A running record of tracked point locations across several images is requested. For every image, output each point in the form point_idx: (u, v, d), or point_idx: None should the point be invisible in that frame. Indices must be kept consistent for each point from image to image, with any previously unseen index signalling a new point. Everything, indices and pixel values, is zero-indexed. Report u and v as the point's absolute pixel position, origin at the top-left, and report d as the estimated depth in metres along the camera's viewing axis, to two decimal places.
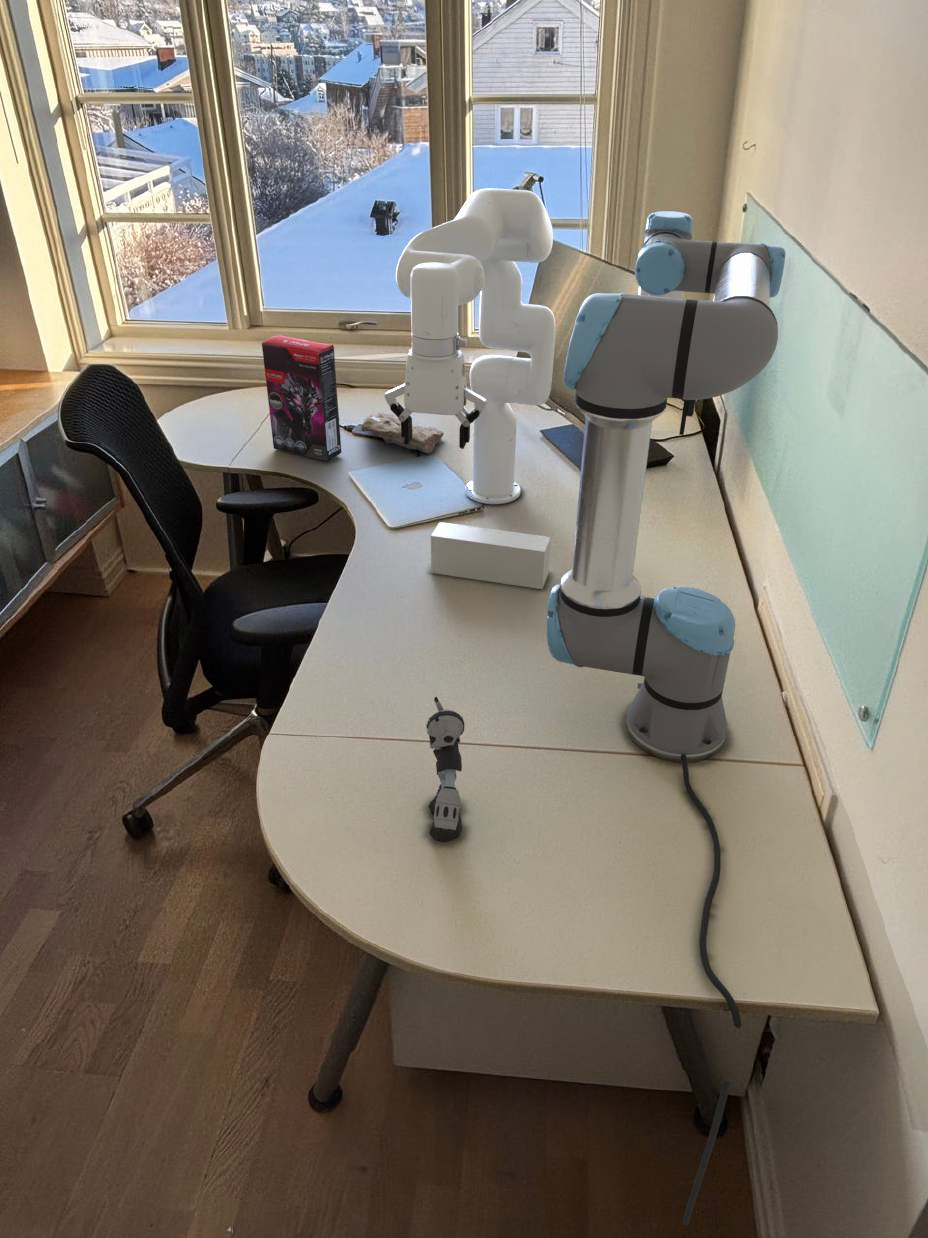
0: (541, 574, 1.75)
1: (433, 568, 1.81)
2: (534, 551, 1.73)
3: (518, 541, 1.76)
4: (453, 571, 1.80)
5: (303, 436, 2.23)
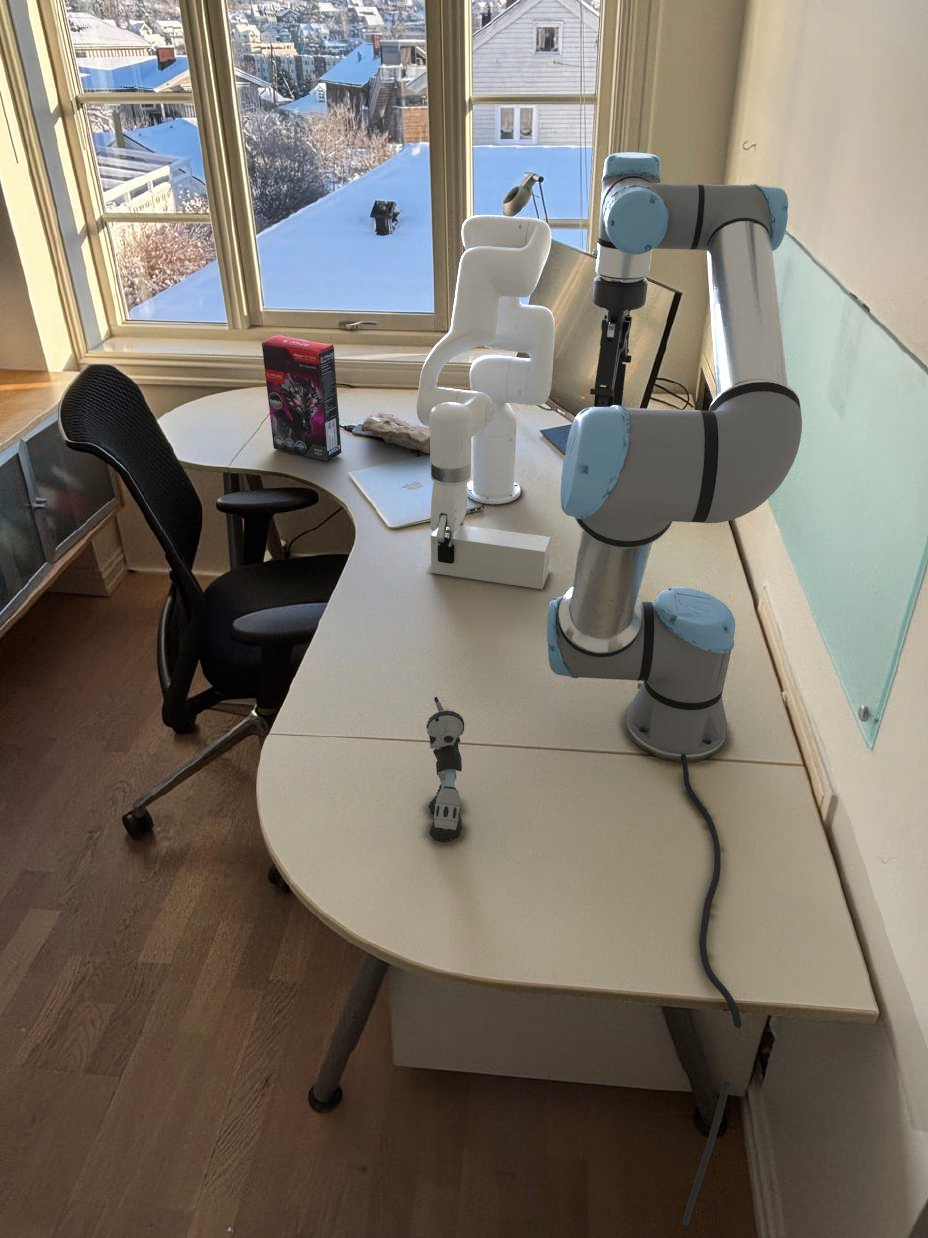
0: (541, 574, 1.75)
1: (433, 568, 1.81)
2: (533, 551, 1.73)
3: (518, 541, 1.76)
4: (453, 571, 1.80)
5: (303, 436, 2.23)
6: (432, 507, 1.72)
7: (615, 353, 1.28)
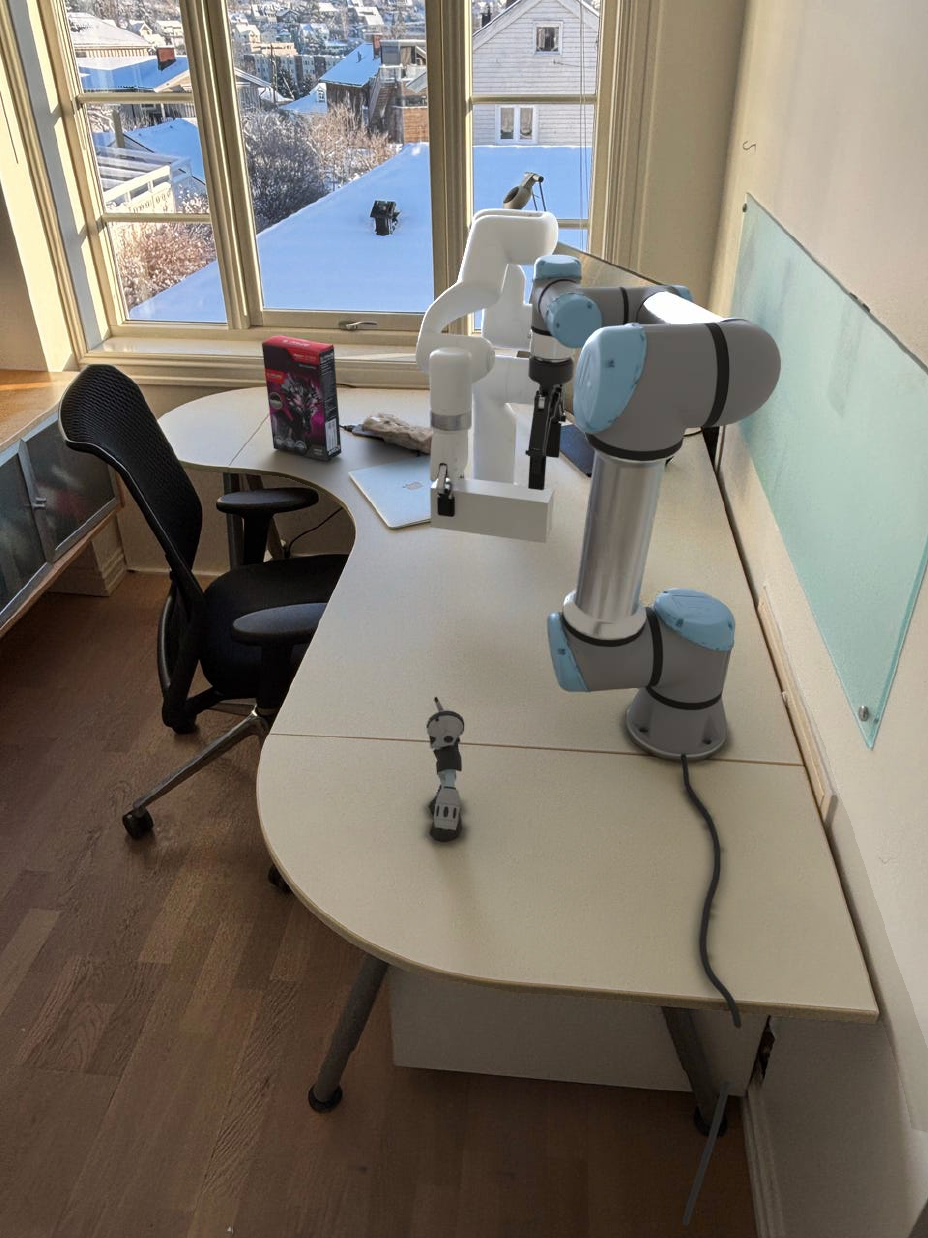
0: (544, 527, 1.70)
1: (433, 522, 1.76)
2: (536, 502, 1.68)
3: (520, 492, 1.70)
4: (453, 525, 1.75)
5: (303, 436, 2.23)
6: (432, 457, 1.66)
7: (545, 422, 1.51)
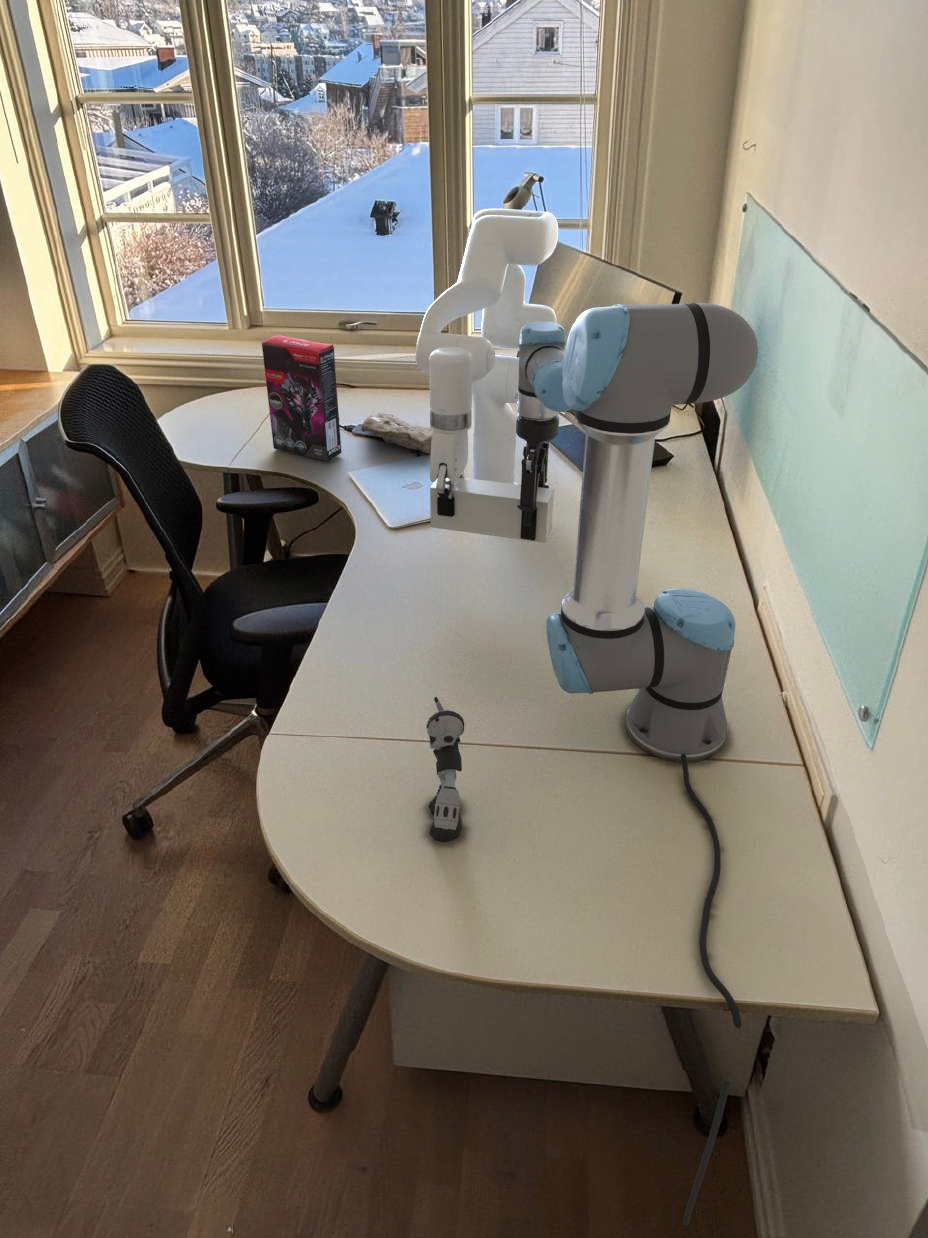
0: (544, 527, 1.70)
1: (433, 522, 1.76)
2: (536, 502, 1.67)
3: (520, 492, 1.70)
4: (453, 525, 1.75)
5: (303, 436, 2.23)
6: (431, 456, 1.66)
7: (533, 482, 1.62)
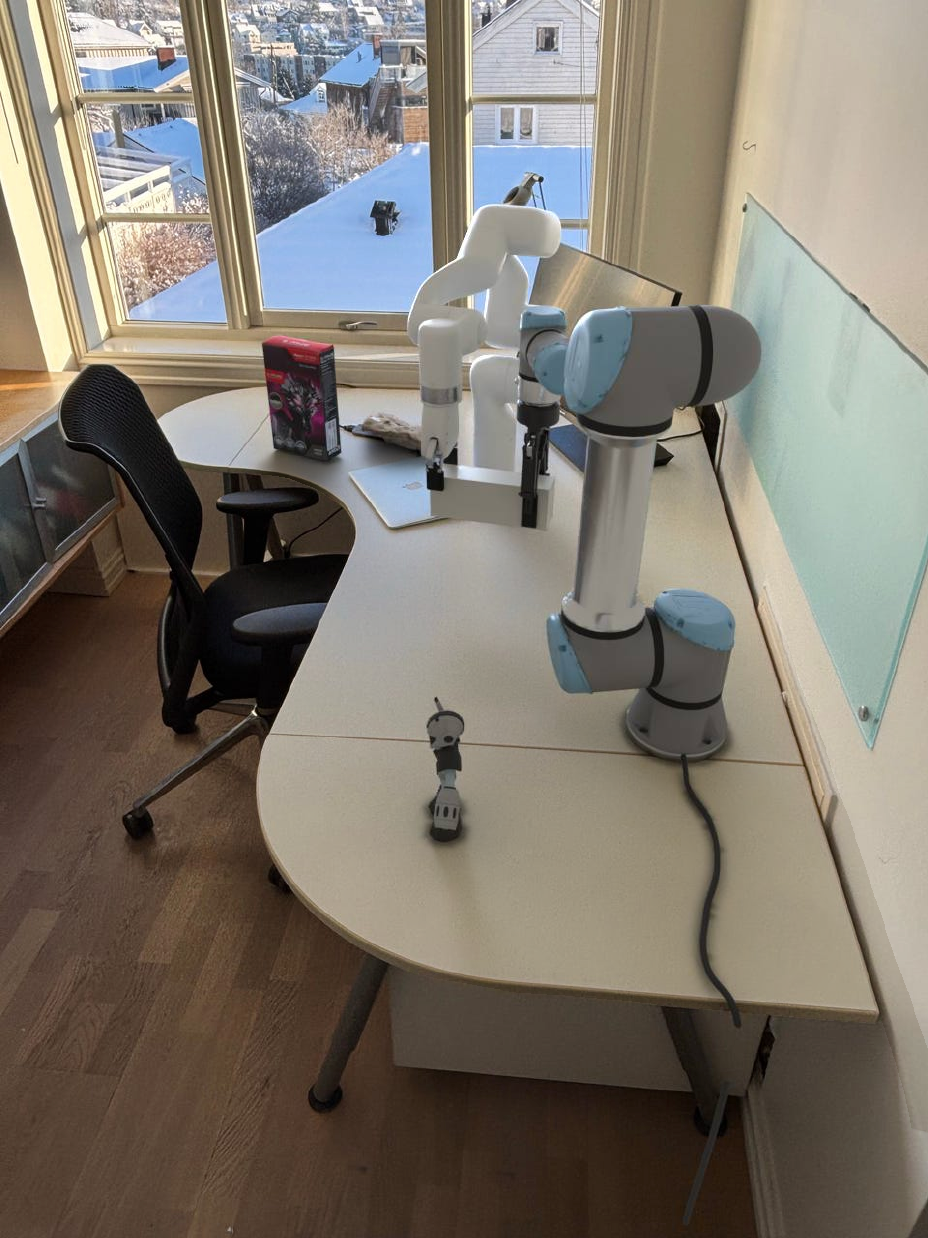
0: (545, 515, 1.68)
1: (433, 511, 1.74)
2: (537, 489, 1.66)
3: None
4: (453, 513, 1.73)
5: (303, 436, 2.23)
6: (422, 431, 1.64)
7: (534, 468, 1.60)
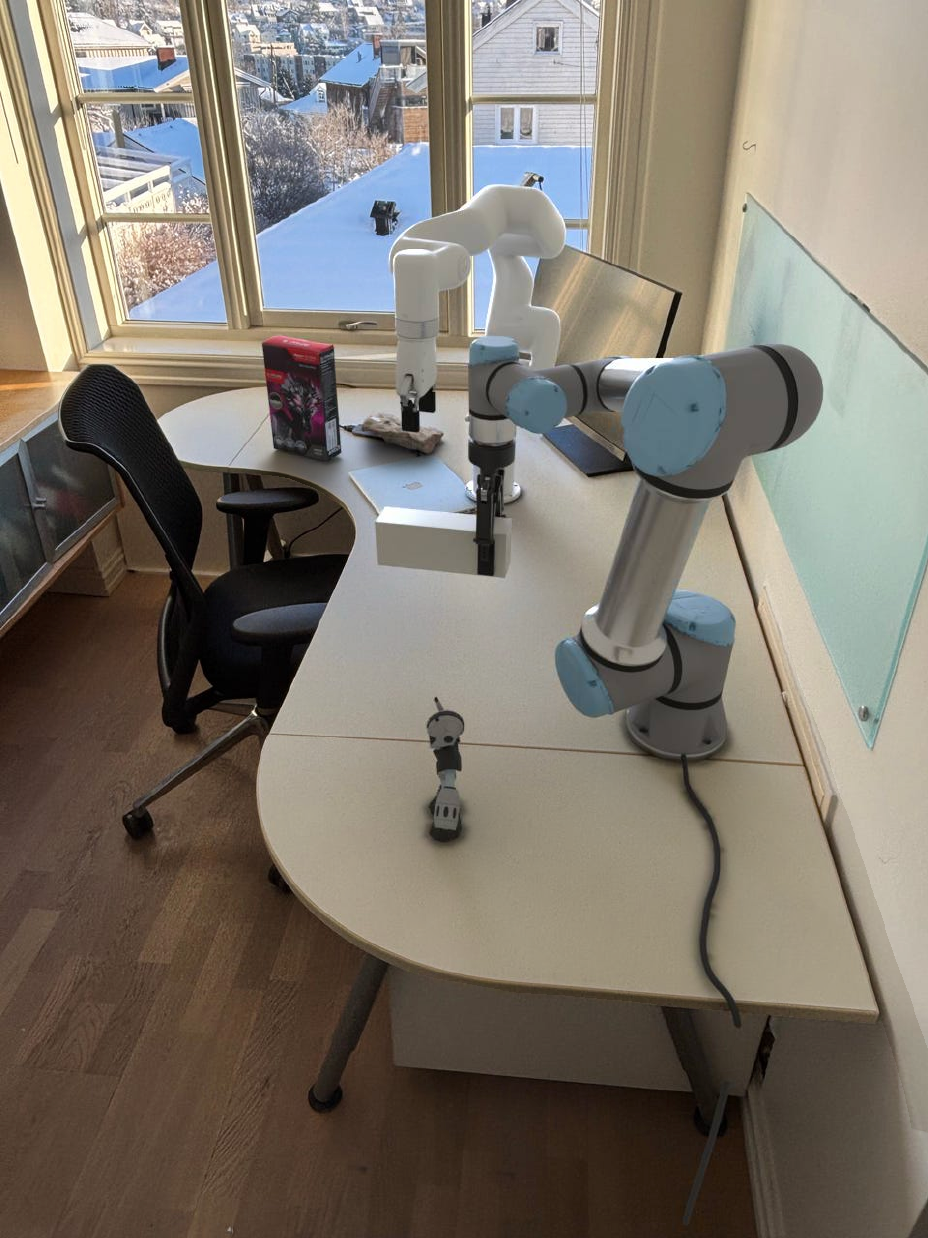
0: (503, 561, 1.54)
1: (379, 559, 1.59)
2: (494, 534, 1.52)
3: (475, 524, 1.54)
4: (402, 562, 1.58)
5: (303, 436, 2.23)
6: (397, 367, 1.59)
7: (490, 513, 1.46)
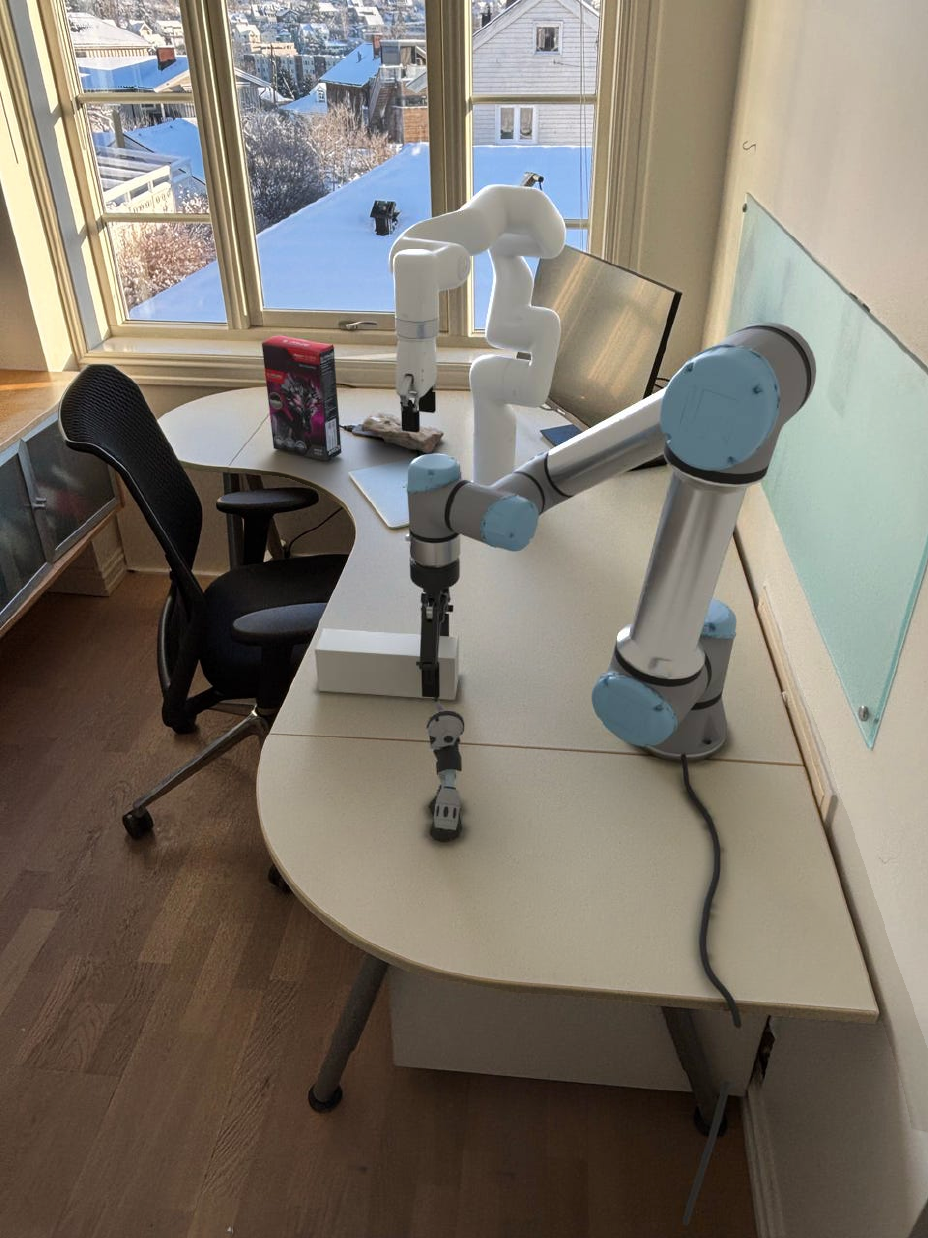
0: (452, 684, 1.47)
1: (321, 685, 1.50)
2: (441, 658, 1.45)
3: None
4: (346, 687, 1.50)
5: (303, 436, 2.23)
6: (397, 367, 1.59)
7: (435, 633, 1.36)
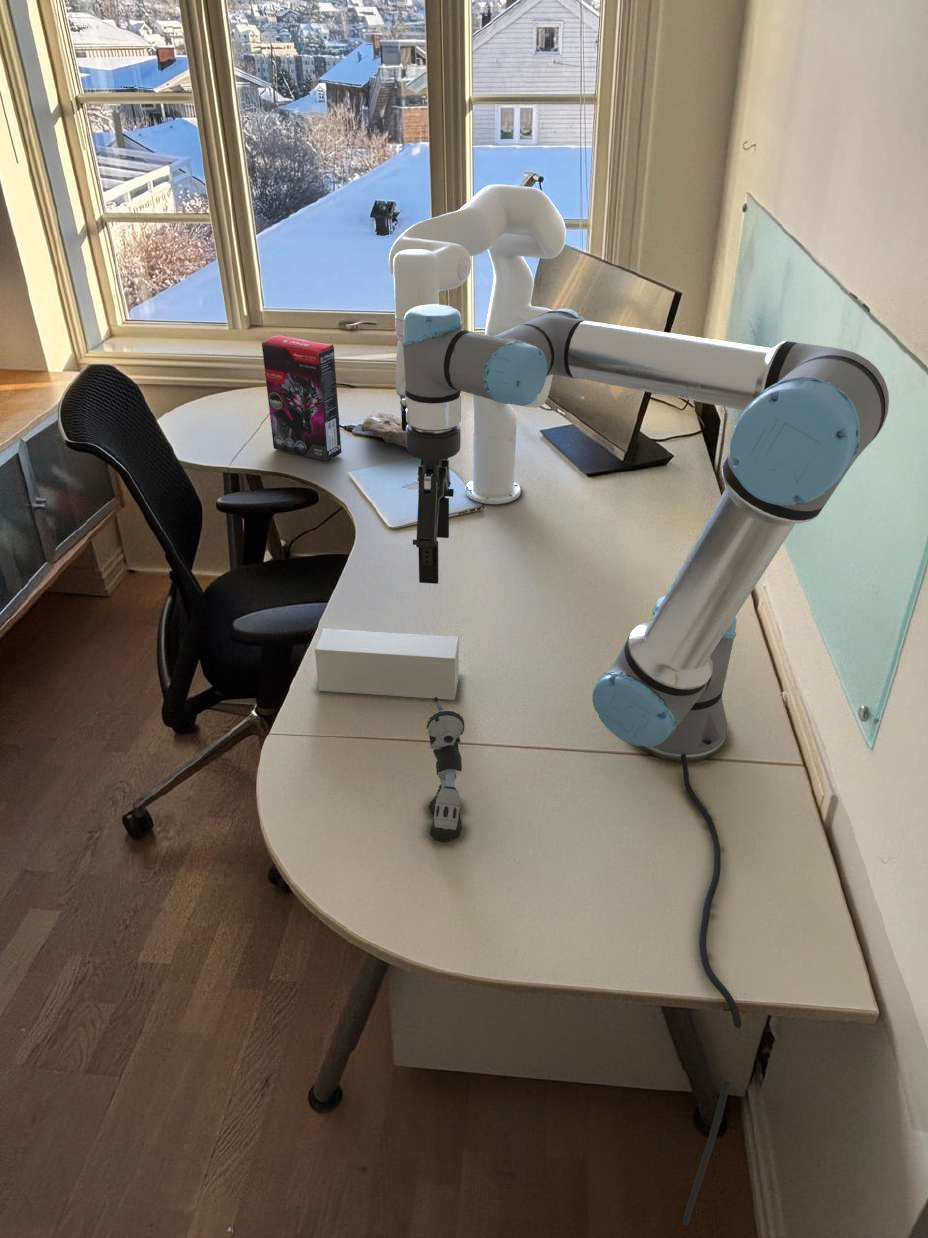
0: (452, 684, 1.47)
1: (321, 685, 1.50)
2: (441, 658, 1.45)
3: (421, 646, 1.47)
4: (346, 687, 1.50)
5: (303, 436, 2.23)
6: (397, 367, 1.59)
7: (434, 505, 1.24)
